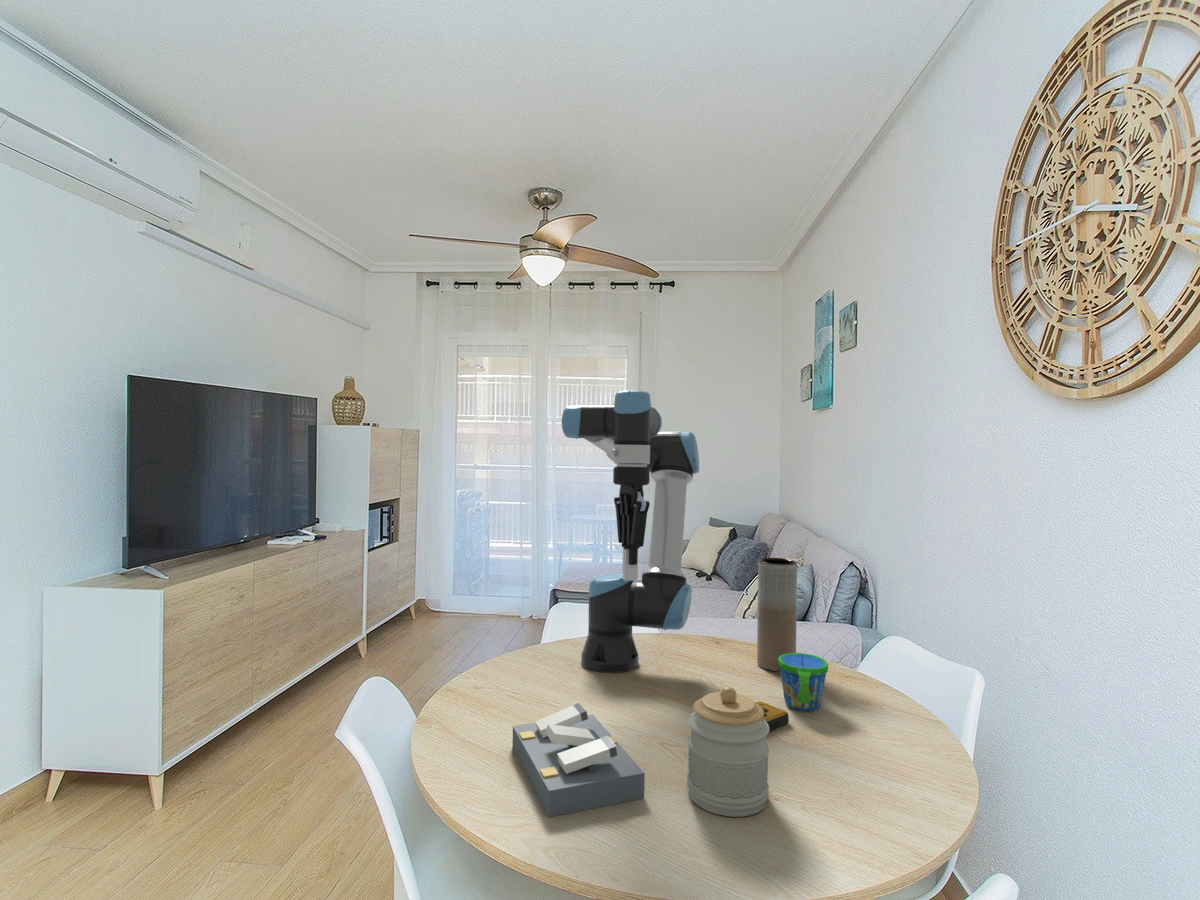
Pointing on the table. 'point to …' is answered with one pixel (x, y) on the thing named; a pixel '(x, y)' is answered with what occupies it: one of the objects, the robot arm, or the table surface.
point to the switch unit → (576, 772)
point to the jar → (728, 754)
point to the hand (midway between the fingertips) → (630, 579)
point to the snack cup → (802, 680)
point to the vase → (776, 611)
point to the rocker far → (562, 718)
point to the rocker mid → (570, 735)
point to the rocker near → (587, 754)
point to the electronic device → (774, 716)
